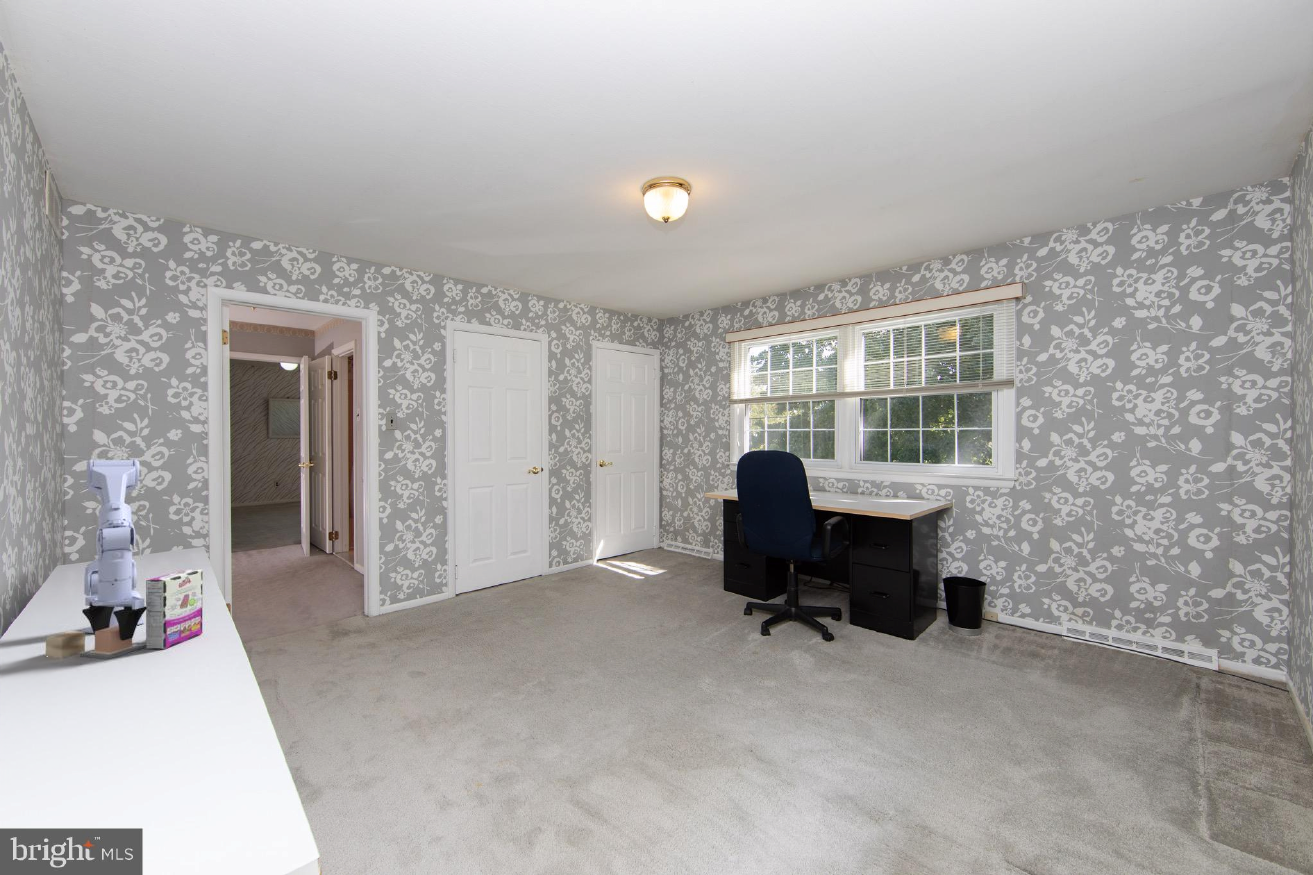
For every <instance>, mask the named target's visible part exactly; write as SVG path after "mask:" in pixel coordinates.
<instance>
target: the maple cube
mask: <svg viewBox="0 0 1313 875" xmlns="http://www.w3.org/2000/svg"><path fill="white" fill-rule="evenodd" d="M84 652H86V633H85V632H81V631H73V630H69V631H65V632H62V633H61V632H60V633H57V634H53V635H49V636H46V637H45V657H46V656H48V657H47V658H51V657H56V658H55V659H64V658H63V657H65V658H67V657H66V656H68V657H71V656H73V655H74V654H75V655H77V654H81V653H84Z"/></svg>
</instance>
